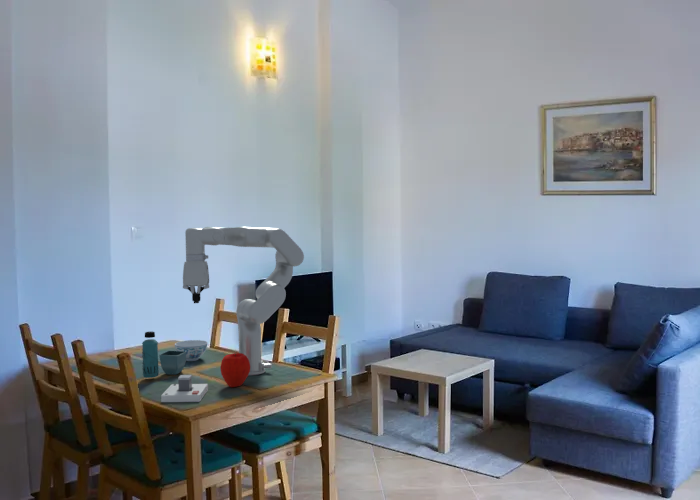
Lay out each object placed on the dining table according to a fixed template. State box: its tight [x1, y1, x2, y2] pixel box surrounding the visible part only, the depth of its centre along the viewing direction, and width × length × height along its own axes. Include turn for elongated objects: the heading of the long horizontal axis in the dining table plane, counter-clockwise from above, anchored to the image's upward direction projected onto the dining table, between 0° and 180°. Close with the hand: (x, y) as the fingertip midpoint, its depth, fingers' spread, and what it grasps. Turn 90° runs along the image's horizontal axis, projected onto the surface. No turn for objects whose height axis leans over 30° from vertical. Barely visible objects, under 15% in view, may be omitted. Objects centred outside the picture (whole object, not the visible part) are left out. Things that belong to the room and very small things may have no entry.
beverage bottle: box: [141, 331, 160, 379], centre depth 286 cm, size 6×7×20 cm
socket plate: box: [160, 383, 209, 403], centre depth 261 cm, size 14×16×3 cm
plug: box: [177, 374, 193, 391], centre depth 261 cm, size 4×4×7 cm
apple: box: [220, 352, 250, 388], centre depth 274 cm, size 12×12×13 cm
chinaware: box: [174, 339, 208, 362], centre depth 323 cm, size 15×15×8 cm
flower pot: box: [158, 350, 187, 376], centre depth 296 cm, size 9×9×9 cm
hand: (196, 302), depth 283 cm, fingers closed
